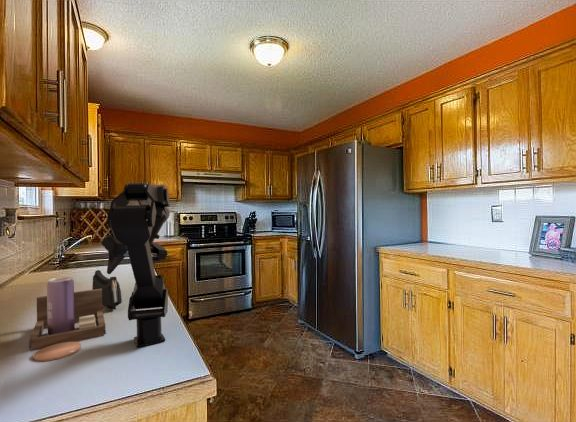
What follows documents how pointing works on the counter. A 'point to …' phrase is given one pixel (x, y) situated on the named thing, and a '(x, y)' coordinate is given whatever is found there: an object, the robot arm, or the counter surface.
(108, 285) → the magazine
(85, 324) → the offcut stack
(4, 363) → the counter surface
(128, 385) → the counter surface
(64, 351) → the peach round disc
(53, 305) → the beverage can
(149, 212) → the robot arm
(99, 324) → the walnut rack
